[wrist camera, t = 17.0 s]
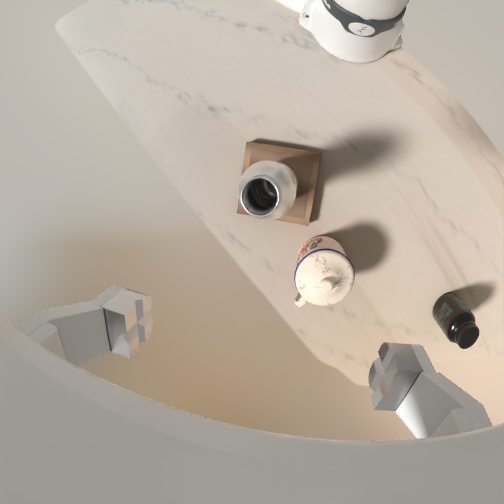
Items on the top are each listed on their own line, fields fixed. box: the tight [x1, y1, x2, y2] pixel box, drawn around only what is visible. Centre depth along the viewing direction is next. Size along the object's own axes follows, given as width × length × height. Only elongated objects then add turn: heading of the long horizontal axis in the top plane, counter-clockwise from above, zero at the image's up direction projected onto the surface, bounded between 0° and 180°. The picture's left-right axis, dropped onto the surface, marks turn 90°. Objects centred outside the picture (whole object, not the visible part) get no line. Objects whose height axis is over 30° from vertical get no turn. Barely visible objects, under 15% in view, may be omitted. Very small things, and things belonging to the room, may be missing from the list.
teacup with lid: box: [294, 236, 355, 307], centre depth 43 cm, size 12×9×12 cm
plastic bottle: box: [238, 161, 298, 220], centre depth 34 cm, size 6×7×20 cm
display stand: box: [237, 142, 321, 226], centre depth 44 cm, size 12×12×2 cm
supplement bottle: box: [433, 293, 479, 349], centre depth 40 cm, size 7×7×12 cm
